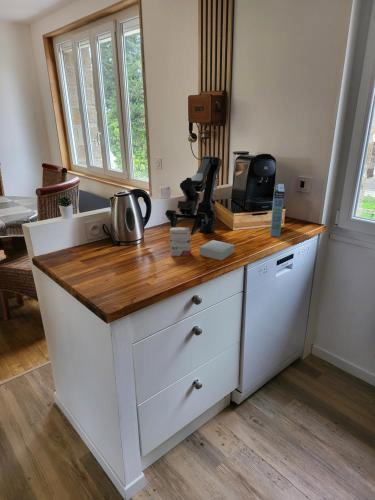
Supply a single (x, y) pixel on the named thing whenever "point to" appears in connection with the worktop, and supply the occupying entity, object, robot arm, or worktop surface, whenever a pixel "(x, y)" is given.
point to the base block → (216, 249)
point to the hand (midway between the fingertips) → (181, 233)
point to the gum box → (277, 210)
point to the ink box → (180, 241)
